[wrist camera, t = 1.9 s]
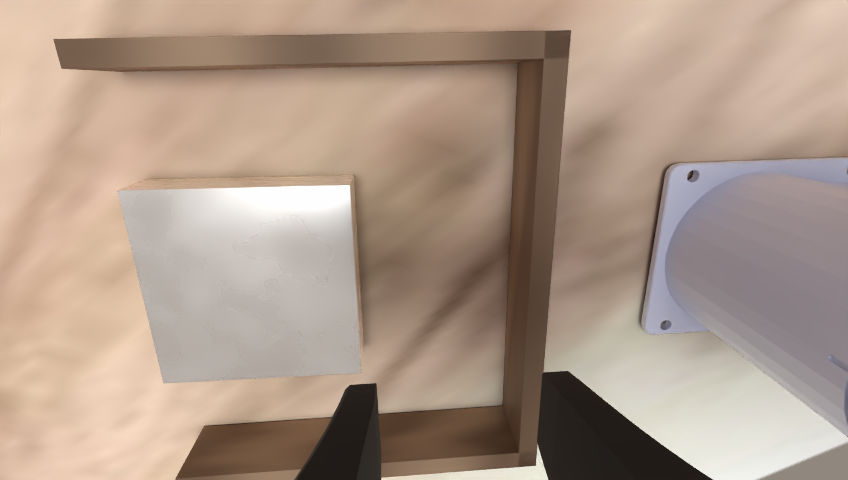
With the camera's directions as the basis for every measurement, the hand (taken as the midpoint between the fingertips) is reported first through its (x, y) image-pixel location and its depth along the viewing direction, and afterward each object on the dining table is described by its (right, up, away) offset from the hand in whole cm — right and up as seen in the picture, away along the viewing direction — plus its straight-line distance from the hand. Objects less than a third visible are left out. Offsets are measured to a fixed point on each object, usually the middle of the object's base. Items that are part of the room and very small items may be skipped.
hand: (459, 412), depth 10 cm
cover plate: (-8, +3, +9) cm, 12 cm away
